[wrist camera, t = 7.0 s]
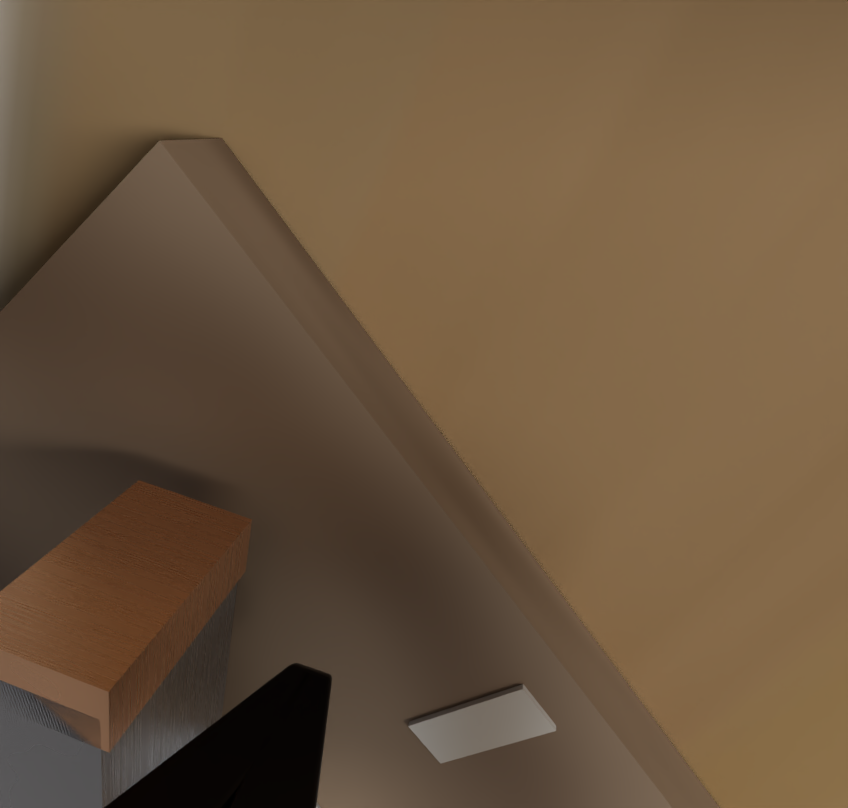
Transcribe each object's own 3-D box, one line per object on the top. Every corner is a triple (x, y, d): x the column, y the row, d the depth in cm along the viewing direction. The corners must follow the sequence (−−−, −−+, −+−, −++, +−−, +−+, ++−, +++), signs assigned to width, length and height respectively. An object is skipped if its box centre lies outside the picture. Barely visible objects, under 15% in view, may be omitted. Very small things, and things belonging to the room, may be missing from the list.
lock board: (226, 1008, 21) (199, 1075, 20) (-235, 598, 17) (-313, 643, 16) (828, 953, 13) (860, 1060, 12) (222, 138, 9) (149, 140, 7)
